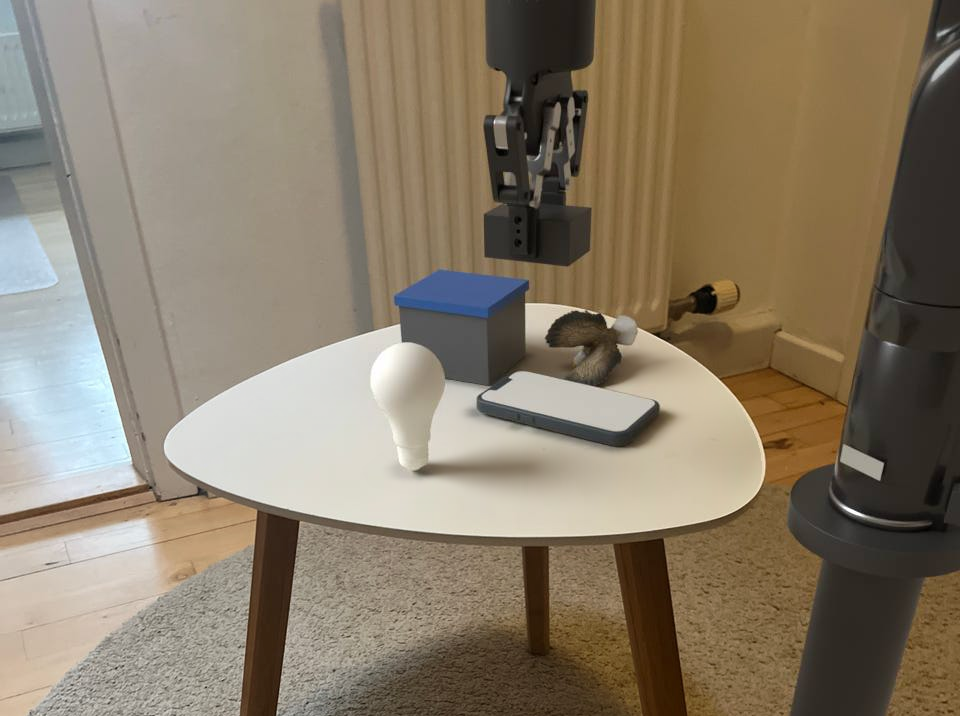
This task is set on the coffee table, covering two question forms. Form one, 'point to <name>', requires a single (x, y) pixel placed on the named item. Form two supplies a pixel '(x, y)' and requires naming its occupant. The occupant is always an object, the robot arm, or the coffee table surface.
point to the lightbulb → (408, 397)
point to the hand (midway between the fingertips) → (537, 249)
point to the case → (543, 234)
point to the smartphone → (569, 407)
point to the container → (466, 322)
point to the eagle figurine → (591, 343)
